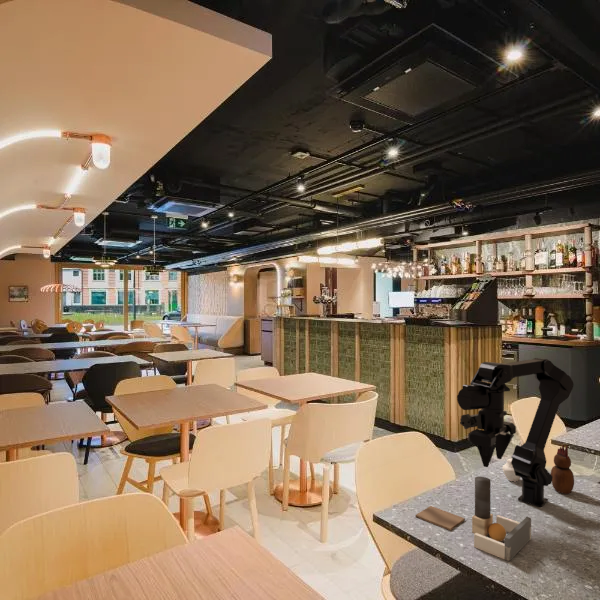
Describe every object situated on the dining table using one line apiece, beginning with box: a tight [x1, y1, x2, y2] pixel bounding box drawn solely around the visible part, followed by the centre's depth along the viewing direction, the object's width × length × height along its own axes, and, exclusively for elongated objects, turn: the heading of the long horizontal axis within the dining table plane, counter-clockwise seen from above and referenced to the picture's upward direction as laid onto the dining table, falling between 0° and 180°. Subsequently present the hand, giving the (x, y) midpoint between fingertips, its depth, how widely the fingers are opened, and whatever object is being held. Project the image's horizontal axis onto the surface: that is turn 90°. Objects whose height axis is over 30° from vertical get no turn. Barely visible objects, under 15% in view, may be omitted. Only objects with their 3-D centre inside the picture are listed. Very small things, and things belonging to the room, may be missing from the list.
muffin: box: [502, 458, 521, 483], centre depth 144 cm, size 6×6×7 cm
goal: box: [473, 514, 532, 562], centre depth 106 cm, size 14×8×5 cm, turn 134°
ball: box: [488, 522, 507, 542], centre depth 107 cm, size 4×4×4 cm
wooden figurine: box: [550, 444, 575, 495], centre depth 136 cm, size 7×6×15 cm
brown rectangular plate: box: [415, 505, 466, 531], centre depth 117 cm, size 8×10×1 cm
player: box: [471, 476, 494, 537], centre depth 109 cm, size 5×4×13 cm
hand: (492, 462), depth 123 cm, fingers open, 9 cm apart
